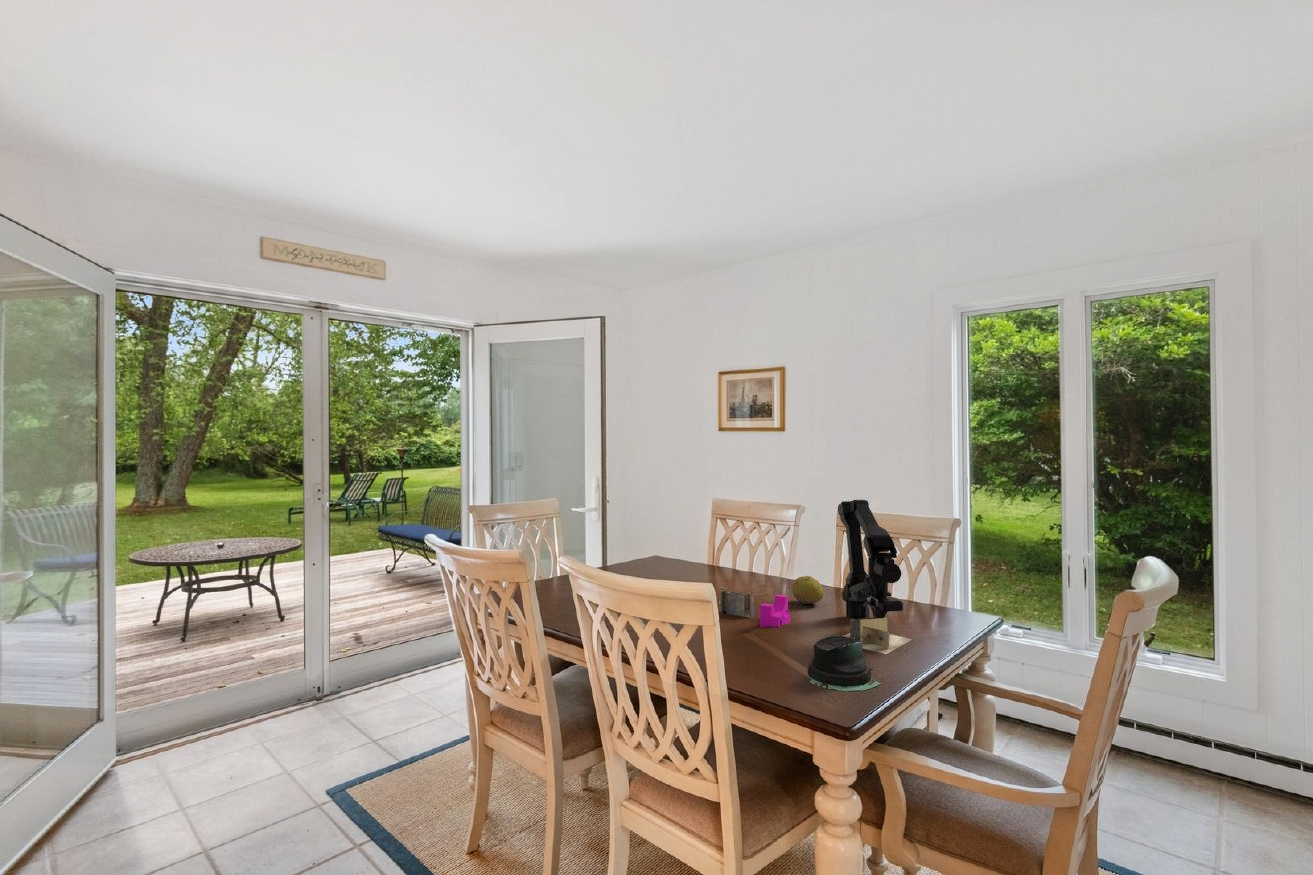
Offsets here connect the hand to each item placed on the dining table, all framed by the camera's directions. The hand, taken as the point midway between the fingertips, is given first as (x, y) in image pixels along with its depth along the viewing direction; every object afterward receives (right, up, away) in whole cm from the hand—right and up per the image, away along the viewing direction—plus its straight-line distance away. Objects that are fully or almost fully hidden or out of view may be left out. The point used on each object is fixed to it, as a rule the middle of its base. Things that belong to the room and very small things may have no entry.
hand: (878, 625), depth 183 cm
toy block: (-27, -5, +16) cm, 32 cm away
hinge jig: (-3, -4, -5) cm, 7 cm away
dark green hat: (-20, -5, -28) cm, 34 cm away
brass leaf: (-2, -2, -3) cm, 4 cm away
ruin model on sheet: (-39, -5, +26) cm, 47 cm away
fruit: (-12, -4, +38) cm, 40 cm away
